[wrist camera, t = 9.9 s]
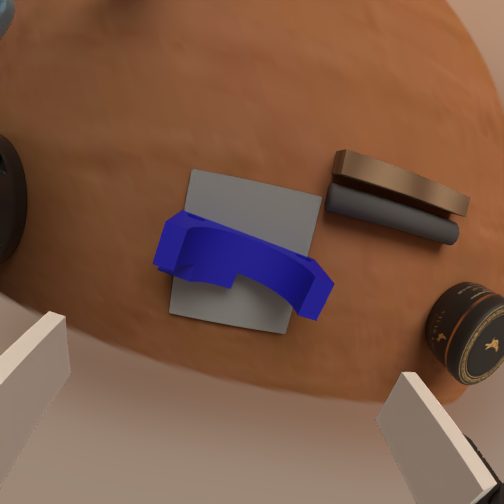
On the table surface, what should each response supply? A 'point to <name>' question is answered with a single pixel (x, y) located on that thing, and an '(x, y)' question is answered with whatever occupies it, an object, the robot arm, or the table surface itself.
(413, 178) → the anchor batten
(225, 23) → the table surface
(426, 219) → the rod
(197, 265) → the cable clip
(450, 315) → the jar
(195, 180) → the mat
